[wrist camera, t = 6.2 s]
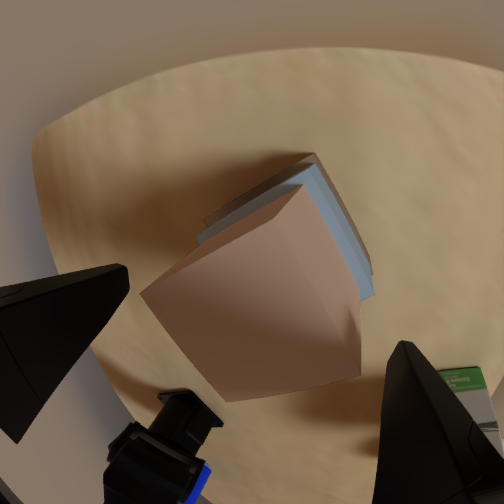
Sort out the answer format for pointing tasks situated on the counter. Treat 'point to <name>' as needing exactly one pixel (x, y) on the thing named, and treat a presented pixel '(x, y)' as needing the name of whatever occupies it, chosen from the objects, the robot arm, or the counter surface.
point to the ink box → (475, 400)
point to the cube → (265, 304)
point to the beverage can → (199, 485)
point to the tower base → (277, 180)
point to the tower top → (328, 212)
